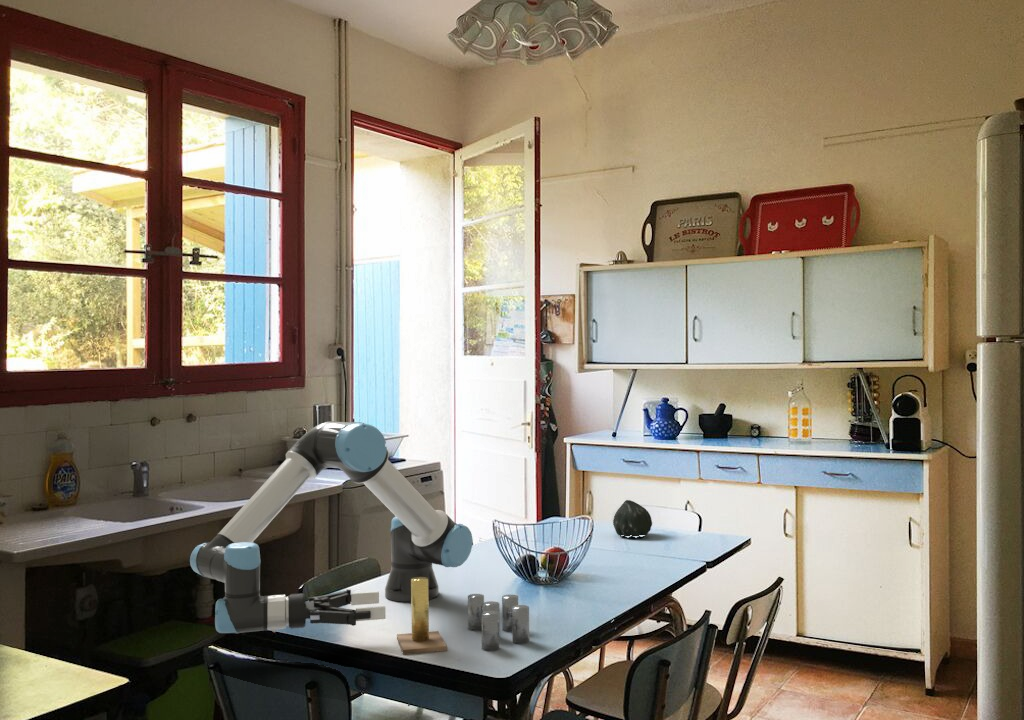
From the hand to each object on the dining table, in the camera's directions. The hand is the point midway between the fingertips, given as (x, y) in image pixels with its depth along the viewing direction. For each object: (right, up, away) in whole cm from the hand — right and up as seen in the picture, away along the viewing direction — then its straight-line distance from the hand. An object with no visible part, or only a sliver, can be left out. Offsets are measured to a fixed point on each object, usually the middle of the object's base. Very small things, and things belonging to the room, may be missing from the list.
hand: (382, 604), depth 203 cm
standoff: (+9, -9, +2) cm, 12 cm away
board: (+9, -10, +1) cm, 13 cm away
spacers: (+27, -10, +7) cm, 30 cm away
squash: (+76, -11, +130) cm, 151 cm away
